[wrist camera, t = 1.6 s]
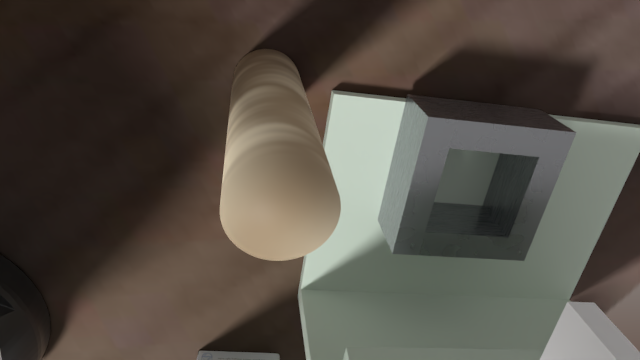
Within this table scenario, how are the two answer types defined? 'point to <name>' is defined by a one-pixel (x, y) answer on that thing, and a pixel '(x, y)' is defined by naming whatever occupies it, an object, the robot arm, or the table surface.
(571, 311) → the robot arm
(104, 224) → the table surface
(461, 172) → the awning station
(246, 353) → the light bulb box
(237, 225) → the peg
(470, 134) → the socket
